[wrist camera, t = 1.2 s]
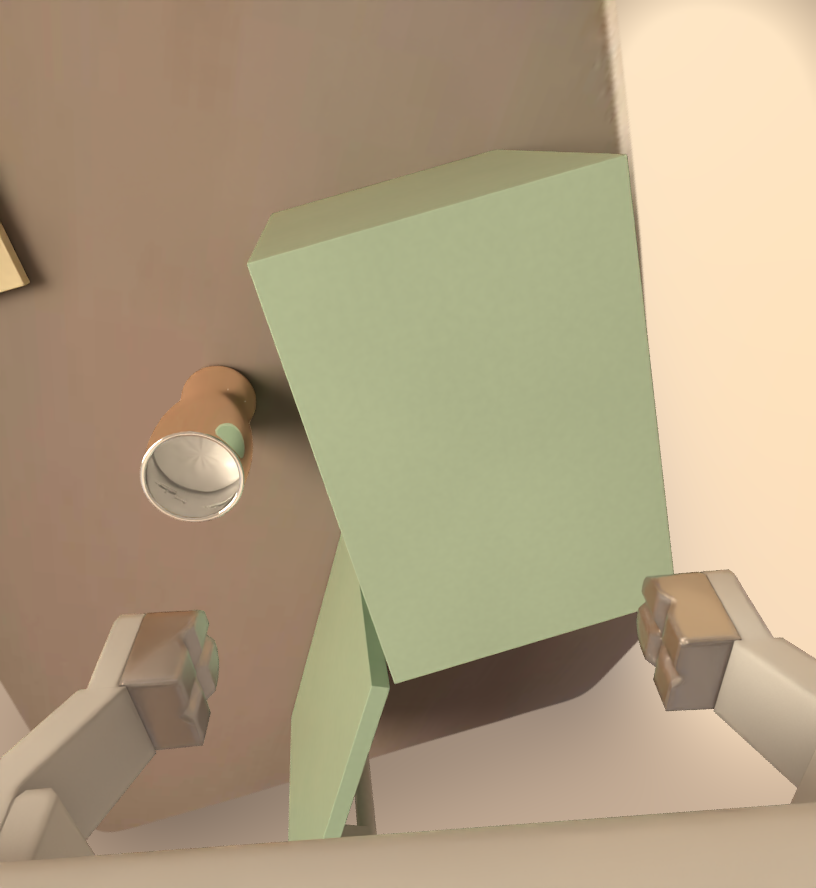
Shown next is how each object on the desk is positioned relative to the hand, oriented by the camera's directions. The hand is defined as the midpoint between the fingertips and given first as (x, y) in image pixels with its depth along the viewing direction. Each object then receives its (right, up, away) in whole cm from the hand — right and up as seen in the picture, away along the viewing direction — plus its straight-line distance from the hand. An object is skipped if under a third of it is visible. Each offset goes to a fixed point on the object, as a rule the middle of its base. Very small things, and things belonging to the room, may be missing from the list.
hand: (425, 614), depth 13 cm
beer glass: (-16, +7, +46) cm, 49 cm away
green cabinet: (+1, +12, +46) cm, 47 cm away
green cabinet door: (-6, -14, +56) cm, 58 cm away
